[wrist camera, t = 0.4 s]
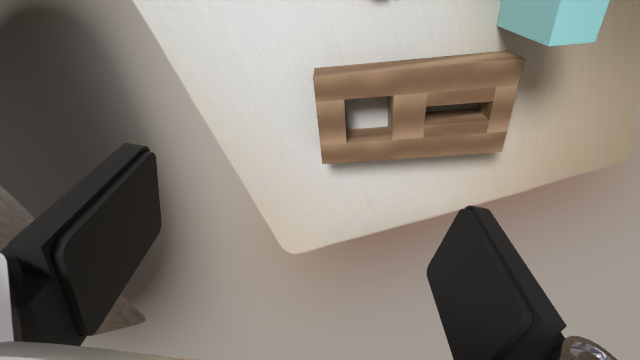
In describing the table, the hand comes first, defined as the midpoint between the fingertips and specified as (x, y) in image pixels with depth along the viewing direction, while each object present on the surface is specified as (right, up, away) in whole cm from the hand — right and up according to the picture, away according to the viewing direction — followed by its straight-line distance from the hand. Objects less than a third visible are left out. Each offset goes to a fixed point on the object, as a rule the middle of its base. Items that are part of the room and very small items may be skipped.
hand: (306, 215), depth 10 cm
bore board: (+12, +11, +34) cm, 38 cm away
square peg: (+23, +21, +27) cm, 41 cm away
